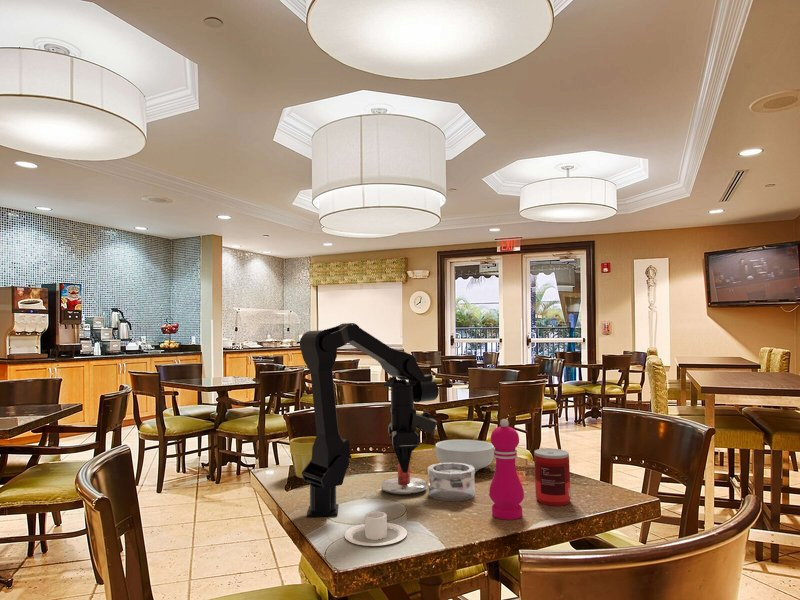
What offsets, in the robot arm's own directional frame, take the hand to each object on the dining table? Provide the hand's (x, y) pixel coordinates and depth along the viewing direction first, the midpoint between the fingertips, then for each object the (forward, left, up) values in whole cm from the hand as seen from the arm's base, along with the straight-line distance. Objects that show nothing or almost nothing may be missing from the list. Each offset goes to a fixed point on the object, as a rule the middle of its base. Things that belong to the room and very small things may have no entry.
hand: (403, 467), depth 132 cm
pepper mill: (-21, -20, -6) cm, 30 cm away
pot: (-5, -11, -5) cm, 13 cm away
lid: (0, 0, -6) cm, 6 cm away
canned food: (-13, -33, -6) cm, 36 cm away
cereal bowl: (+18, -19, -6) cm, 27 cm away
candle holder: (-29, +8, -6) cm, 31 cm away
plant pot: (+18, +25, -6) cm, 31 cm away
